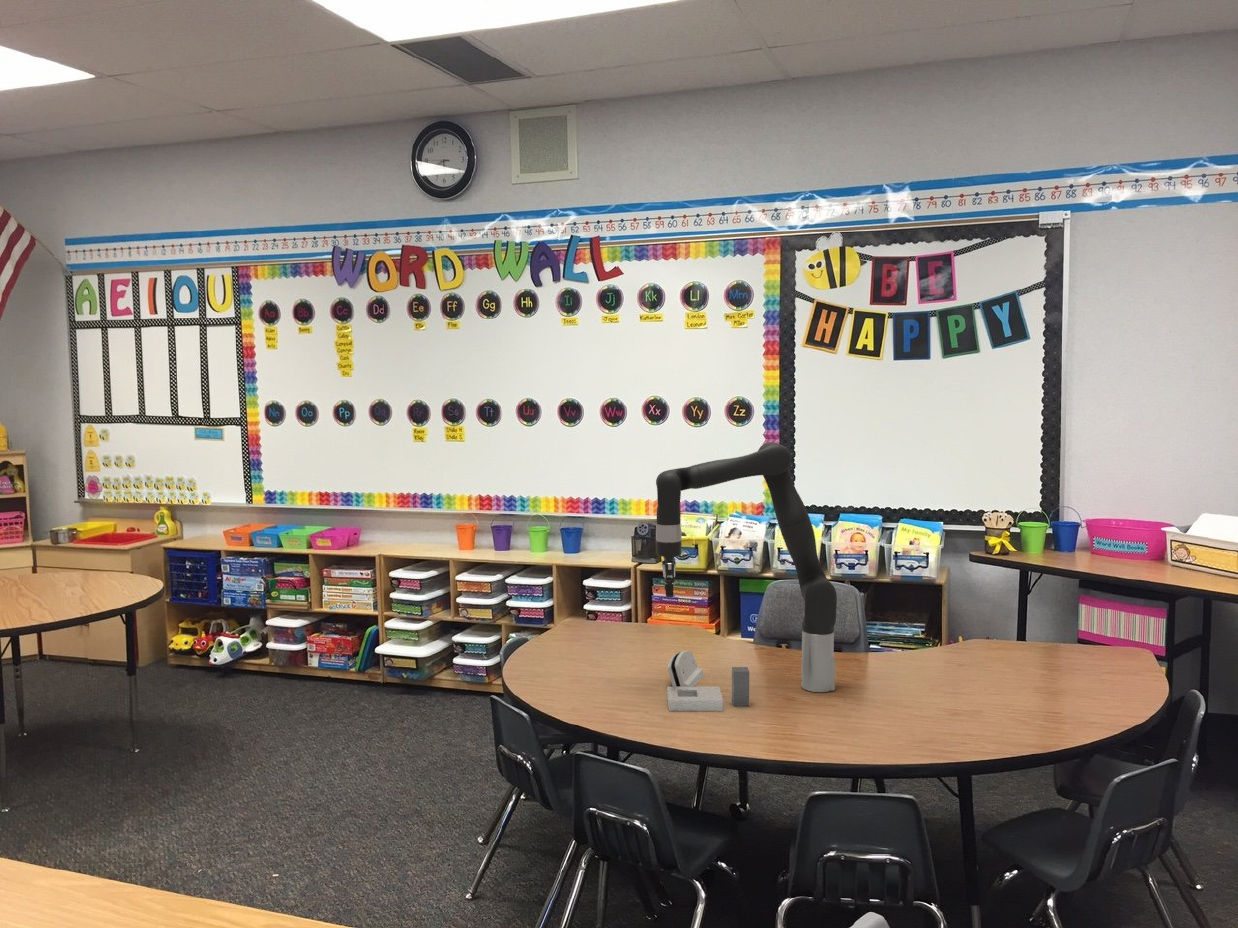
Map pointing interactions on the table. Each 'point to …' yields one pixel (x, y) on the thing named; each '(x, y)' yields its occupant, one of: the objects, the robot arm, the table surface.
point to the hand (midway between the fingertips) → (668, 593)
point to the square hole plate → (694, 699)
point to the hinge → (684, 670)
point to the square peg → (740, 686)
